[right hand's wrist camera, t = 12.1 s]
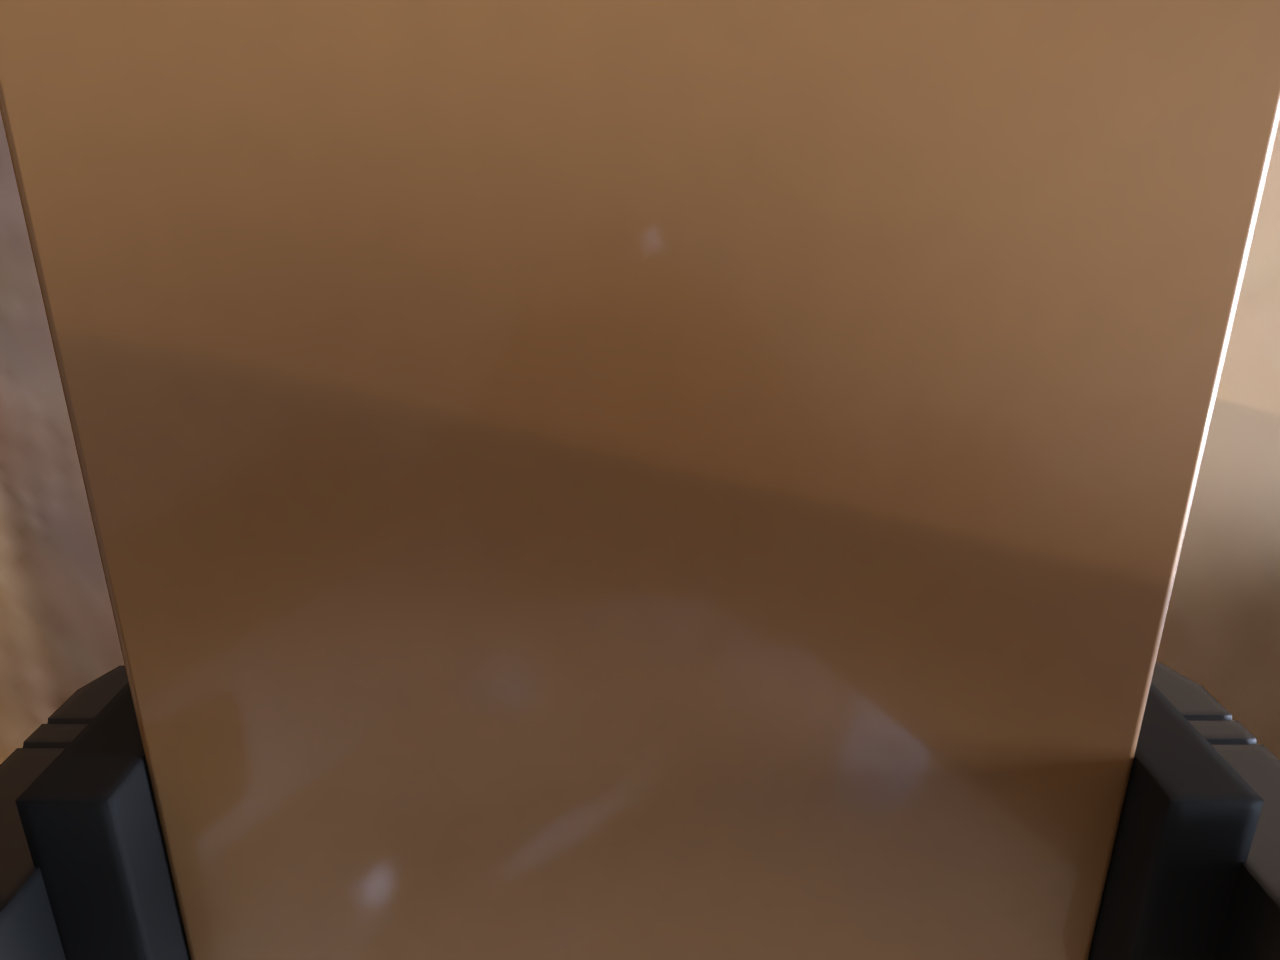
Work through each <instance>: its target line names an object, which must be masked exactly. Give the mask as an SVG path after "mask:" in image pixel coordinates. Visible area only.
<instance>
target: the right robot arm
mask: <svg viewBox="0 0 1280 960" xmlns="http://www.w3.org/2000/svg"><path fill="white" fill-rule="evenodd" d="M0 960H191V958H190V953H189V949H188V944H187V940H186V936H185V931H184V927H183V922H182V918H181V913H180V909H179V904H178V900H177V895H176V891H175V886H174V882H173V878H172V873H171V869H170V864H169V860H168V855H167V851H166V846H165V842H164V837H163V833H162V828H161V824H160V820H159V815H158V811H157V806H156V802H155V797H154V793H153V788H152V784H151V779H150V775H149V770H148V766H147V762H146V757H145V753H144V748H143V744H142V739H141V735H140V730H139V726H138V721H137V717H136V712H135V708H134V704H133V699H132V695H131V690H130V686H129V681H128V677H127V672H126V668H125V666H119V667H117V668H115V669H113V670H112V671H110V672H108V673H106V674H105V675H103V676H101V677H99V678H98V679H96V680H94V681H92V682H91V683H89V684H87V685H85V686H84V687H82V688H80V689H78V690H77V691H76V692H75V693H74V694H73V695H72V696H71V697H70V698H69V699H68V700H67V701H66V702H65V703H64V704H63V705H61V706H60V707H59V708H58V709H57V710H56V711H55V712H54V713H53V714H52V715H51V716H50V717H49V718H48V723H47V724H42V725H41V726H40V727H39V728H38V729H37V730H36V731H35V732H34V733H33V734H32V735H31V736H29V737H28V738H27V739H26V740H25V741H24V746H23V748H17V749H16V750H15V751H14V752H13V753H12V754H11V755H10V756H9V757H8V758H7V759H6V760H5V761H4V762H3V763H2V764H1V765H0ZM1088 960H1280V761H1279V760H1278V759H1277V758H1276V757H1275V756H1274V755H1273V754H1272V753H1271V752H1270V751H1269V750H1268V749H1267V748H1266V747H1265V746H1264V745H1257V742H1256V738H1255V737H1254V736H1253V735H1252V734H1251V733H1250V732H1249V731H1248V730H1247V729H1246V728H1245V727H1244V726H1243V725H1242V724H1241V723H1240V722H1239V721H1233V720H1232V715H1231V714H1230V713H1229V712H1228V711H1227V710H1226V709H1225V708H1224V707H1223V706H1222V705H1221V704H1220V703H1219V702H1218V701H1217V700H1216V699H1215V698H1214V697H1213V696H1212V695H1210V694H1209V693H1208V692H1207V691H1206V690H1205V689H1204V688H1203V687H1202V686H1200V685H1198V684H1197V683H1195V682H1193V681H1191V680H1190V679H1188V678H1186V677H1184V676H1183V675H1181V674H1179V673H1177V672H1176V671H1174V670H1172V669H1170V668H1169V667H1167V666H1165V665H1163V664H1162V663H1155V667H1154V672H1153V676H1152V680H1151V685H1150V689H1149V694H1148V698H1147V702H1146V707H1145V711H1144V716H1143V720H1142V724H1141V729H1140V733H1139V737H1138V742H1137V746H1136V751H1135V755H1134V759H1133V764H1132V768H1131V773H1130V777H1129V781H1128V786H1127V790H1126V794H1125V799H1124V803H1123V808H1122V812H1121V816H1120V821H1119V825H1118V830H1117V834H1116V838H1115V843H1114V847H1113V852H1112V856H1111V860H1110V865H1109V869H1108V873H1107V878H1106V882H1105V887H1104V891H1103V895H1102V900H1101V904H1100V909H1099V913H1098V917H1097V922H1096V926H1095V930H1094V935H1093V939H1092V944H1091V948H1090V952H1089V957H1088Z"/></svg>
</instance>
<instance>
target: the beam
mask: <svg viewBox="0 0 1280 960" xmlns="http://www.w3.org/2000/svg"><path fill="white" fill-rule="evenodd" d="M0 110H1V114H2V119H3V123H4V128H5V132H6V137H7V141H8V146H9V150H10V155H11V159H12V164H13V168H14V172H15V177H16V181H17V186H18V190H19V195H20V199H21V204H22V208H23V213H24V217H25V222H26V226H27V230H28V235H29V239H30V244H31V248H32V253H33V257H34V262H35V266H36V271H37V275H38V280H39V284H40V288H41V293H42V297H43V302H44V306H45V311H46V315H47V320H48V324H49V329H50V333H51V338H52V342H53V347H54V351H55V355H56V360H57V364H58V369H59V373H60V378H61V382H62V387H63V391H64V396H65V400H66V405H67V409H68V413H69V418H70V422H71V427H72V431H73V436H74V440H75V445H76V449H77V454H78V458H79V463H80V467H81V471H82V476H83V480H84V485H85V489H86V494H87V498H88V503H89V507H90V512H91V516H92V521H93V525H94V529H95V534H96V538H97V543H98V547H99V552H100V556H101V561H102V565H103V570H104V574H105V579H106V583H107V587H108V592H109V596H110V601H111V605H112V610H113V614H114V619H115V623H116V628H117V632H118V637H119V641H120V646H121V650H122V654H123V659H124V663H125V668H126V672H127V677H128V681H129V686H130V690H131V695H132V699H133V704H134V708H135V712H136V717H137V721H138V726H139V730H140V735H141V739H142V744H143V748H144V753H145V757H146V762H147V766H148V770H149V775H150V779H151V784H152V788H153V793H154V797H155V802H156V806H157V811H158V815H159V820H160V824H161V828H162V833H163V837H164V842H165V846H166V851H167V855H168V860H169V864H170V869H171V873H172V878H173V882H174V886H175V891H176V895H177V900H178V904H179V909H180V913H181V918H182V922H183V927H184V931H185V936H186V940H187V944H188V949H189V953H190V958H191V960H1088V957H1089V952H1090V948H1091V944H1092V939H1093V935H1094V930H1095V926H1096V922H1097V917H1098V913H1099V909H1100V904H1101V900H1102V895H1103V891H1104V887H1105V882H1106V878H1107V873H1108V869H1109V865H1110V860H1111V856H1112V852H1113V847H1114V843H1115V838H1116V834H1117V830H1118V825H1119V821H1120V816H1121V812H1122V808H1123V803H1124V799H1125V794H1126V790H1127V786H1128V781H1129V777H1130V773H1131V768H1132V764H1133V759H1134V755H1135V751H1136V746H1137V742H1138V737H1139V733H1140V729H1141V724H1142V720H1143V716H1144V711H1145V707H1146V702H1147V698H1148V694H1149V689H1150V685H1151V680H1152V676H1153V672H1154V667H1155V663H1156V658H1157V654H1158V650H1159V645H1160V641H1161V637H1162V632H1163V628H1164V623H1165V619H1166V615H1167V610H1168V606H1169V601H1170V597H1171V593H1172V588H1173V584H1174V579H1175V575H1176V571H1177V566H1178V562H1179V558H1180V553H1181V549H1182V544H1183V540H1184V536H1185V531H1186V527H1187V522H1188V518H1189V514H1190V509H1191V505H1192V501H1193V496H1194V492H1195V487H1196V483H1197V479H1198V474H1199V470H1200V465H1201V461H1202V457H1203V452H1204V448H1205V443H1206V439H1207V435H1208V430H1209V426H1210V422H1211V417H1212V413H1213V408H1214V404H1215V400H1216V395H1217V391H1218V386H1219V382H1220V378H1221V373H1222V369H1223V365H1224V360H1225V356H1226V351H1227V347H1228V343H1229V338H1230V334H1231V329H1232V325H1233V321H1234V316H1235V312H1236V307H1237V303H1238V299H1239V294H1240V290H1241V286H1242V281H1243V277H1244V272H1245V268H1246V264H1247V259H1248V255H1249V250H1250V246H1251V242H1252V237H1253V233H1254V228H1255V224H1256V220H1257V215H1258V211H1259V207H1260V202H1261V198H1262V193H1263V189H1264V185H1265V180H1266V176H1267V171H1268V167H1269V163H1270V158H1271V154H1272V150H1273V145H1274V141H1275V136H1276V132H1277V128H1278V123H1279V119H1280V0H0Z"/></svg>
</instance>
